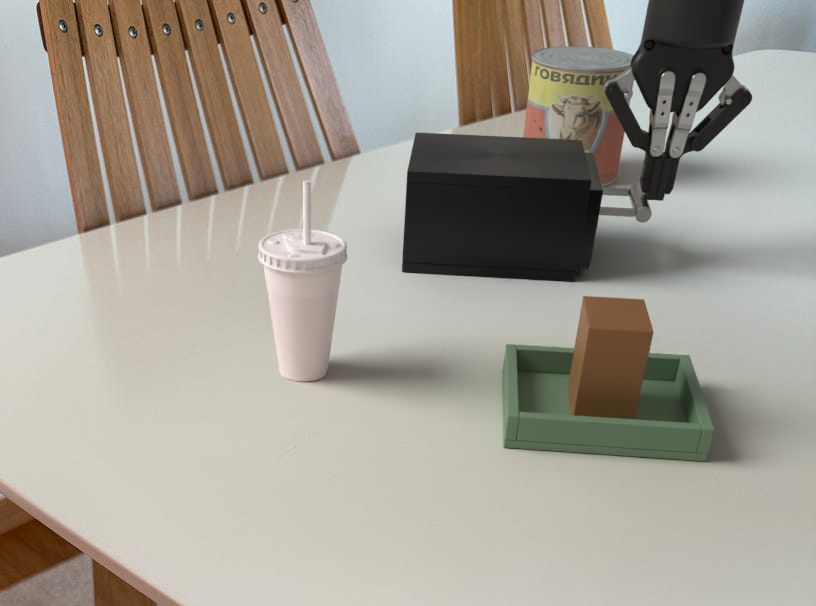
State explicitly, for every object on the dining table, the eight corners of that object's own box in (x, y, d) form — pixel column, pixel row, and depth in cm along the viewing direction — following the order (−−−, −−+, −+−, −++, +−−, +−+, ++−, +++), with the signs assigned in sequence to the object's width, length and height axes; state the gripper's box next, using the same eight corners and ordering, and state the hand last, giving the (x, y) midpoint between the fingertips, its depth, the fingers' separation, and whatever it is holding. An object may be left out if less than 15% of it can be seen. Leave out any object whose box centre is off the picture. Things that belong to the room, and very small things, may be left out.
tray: (682, 384, 79) (689, 354, 78) (706, 461, 70) (715, 430, 69) (502, 373, 80) (506, 343, 79) (503, 447, 71) (507, 416, 70)
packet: (625, 391, 77) (644, 299, 72) (632, 427, 73) (653, 331, 68) (567, 388, 77) (583, 295, 73) (571, 423, 73) (588, 327, 68)
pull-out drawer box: (631, 229, 103) (646, 155, 99) (644, 272, 94) (661, 193, 90) (434, 219, 105) (439, 145, 100) (428, 260, 96) (434, 182, 91)
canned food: (516, 185, 117) (530, 65, 109) (520, 157, 125) (534, 43, 117) (618, 192, 115) (640, 71, 107) (616, 163, 124) (636, 49, 116)
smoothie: (292, 397, 77) (289, 200, 68) (245, 365, 81) (237, 175, 72) (361, 375, 80) (368, 183, 71) (313, 345, 83) (313, 160, 74)
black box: (567, 234, 105) (582, 139, 99) (575, 281, 95) (591, 180, 89) (410, 225, 106) (415, 132, 100) (401, 272, 96) (407, 171, 90)
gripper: (623, -23, 82) (583, 206, 93) (795, -14, 81) (734, 215, 92) (614, -35, 88) (578, 181, 99) (775, -28, 87) (720, 190, 98)
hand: (653, 197), depth 95 cm, fingers closed
